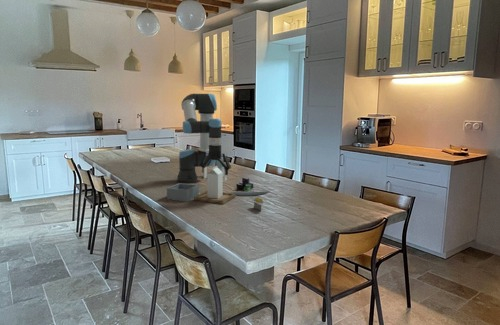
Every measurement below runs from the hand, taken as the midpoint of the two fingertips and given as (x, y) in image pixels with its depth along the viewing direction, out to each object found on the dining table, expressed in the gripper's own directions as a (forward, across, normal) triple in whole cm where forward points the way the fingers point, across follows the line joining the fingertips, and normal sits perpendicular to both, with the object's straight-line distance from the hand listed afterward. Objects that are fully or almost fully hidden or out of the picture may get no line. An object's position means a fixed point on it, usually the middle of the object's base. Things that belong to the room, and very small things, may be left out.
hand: (215, 179), depth 217 cm
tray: (+12, 0, 0) cm, 12 cm away
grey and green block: (+13, +32, -10) cm, 36 cm away
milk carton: (+11, 0, 0) cm, 11 cm away
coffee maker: (+12, -25, +60) cm, 66 cm away
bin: (+12, -19, -6) cm, 23 cm away
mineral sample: (+13, +8, +29) cm, 33 cm away
